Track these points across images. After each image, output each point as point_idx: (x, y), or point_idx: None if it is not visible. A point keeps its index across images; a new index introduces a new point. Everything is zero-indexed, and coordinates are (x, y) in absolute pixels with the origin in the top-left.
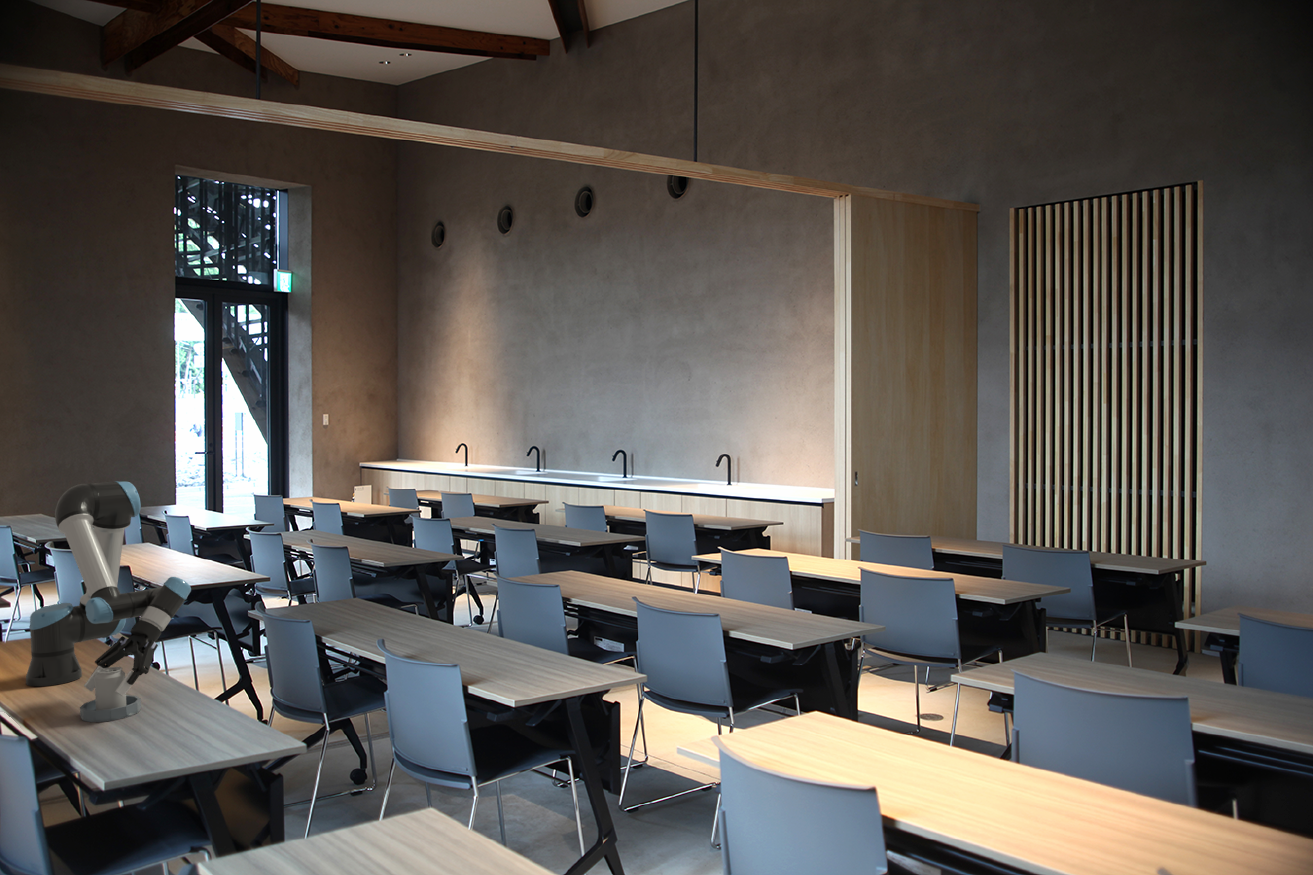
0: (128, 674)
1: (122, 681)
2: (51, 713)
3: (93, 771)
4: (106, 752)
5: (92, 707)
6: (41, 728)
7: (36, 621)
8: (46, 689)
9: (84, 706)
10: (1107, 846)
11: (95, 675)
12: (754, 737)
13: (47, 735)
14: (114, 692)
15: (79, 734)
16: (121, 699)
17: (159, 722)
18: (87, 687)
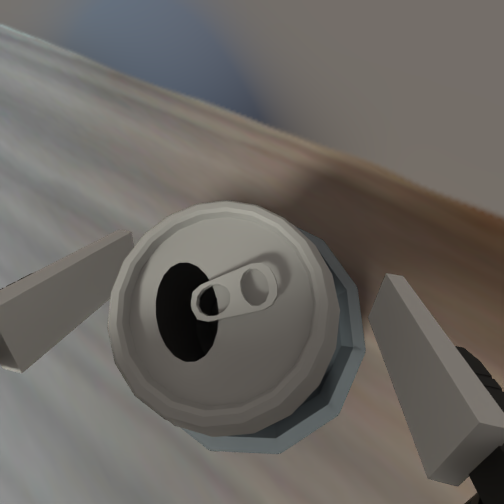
0: (19, 285)
1: (83, 256)
2: (480, 279)
3: (19, 33)
4: (47, 91)
5: (342, 320)
6: (343, 161)
7: None
8: None
9: (327, 265)
10: None
11: (414, 344)
12: None
13: (271, 129)
14: (181, 277)
15: (193, 151)
16: (183, 314)
17: (26, 275)
18: (380, 287)
